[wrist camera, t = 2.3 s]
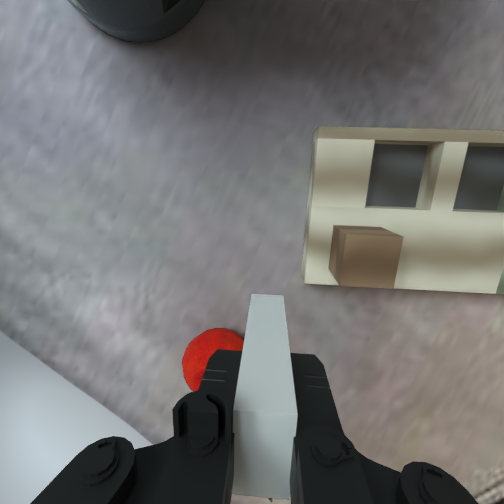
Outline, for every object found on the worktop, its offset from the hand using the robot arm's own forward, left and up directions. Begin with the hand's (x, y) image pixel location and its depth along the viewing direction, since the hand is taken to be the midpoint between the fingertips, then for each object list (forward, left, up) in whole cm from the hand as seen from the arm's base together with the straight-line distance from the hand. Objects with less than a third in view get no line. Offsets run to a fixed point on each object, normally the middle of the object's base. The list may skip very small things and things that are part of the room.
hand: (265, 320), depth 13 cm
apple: (+14, -5, -18) cm, 23 cm away
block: (0, +9, -15) cm, 17 cm away
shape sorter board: (-4, +17, -18) cm, 24 cm away
